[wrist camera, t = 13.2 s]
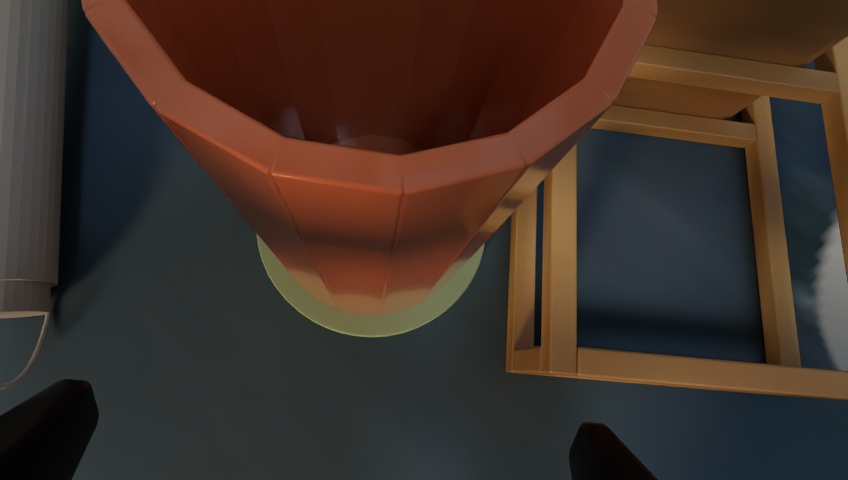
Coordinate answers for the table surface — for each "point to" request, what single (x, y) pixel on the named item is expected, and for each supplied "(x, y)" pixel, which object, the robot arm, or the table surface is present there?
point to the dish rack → (707, 123)
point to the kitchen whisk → (31, 156)
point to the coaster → (367, 323)
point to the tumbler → (376, 119)
